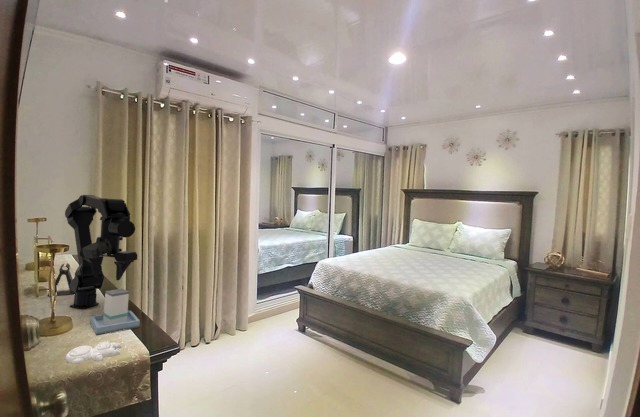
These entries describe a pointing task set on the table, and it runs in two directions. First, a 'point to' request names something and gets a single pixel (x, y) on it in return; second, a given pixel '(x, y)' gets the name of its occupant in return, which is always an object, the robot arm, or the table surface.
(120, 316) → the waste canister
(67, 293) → the phone stand
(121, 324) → the drip tray
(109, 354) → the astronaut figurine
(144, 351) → the table surface
